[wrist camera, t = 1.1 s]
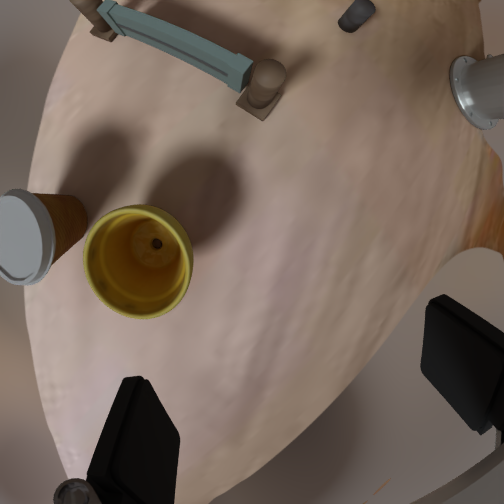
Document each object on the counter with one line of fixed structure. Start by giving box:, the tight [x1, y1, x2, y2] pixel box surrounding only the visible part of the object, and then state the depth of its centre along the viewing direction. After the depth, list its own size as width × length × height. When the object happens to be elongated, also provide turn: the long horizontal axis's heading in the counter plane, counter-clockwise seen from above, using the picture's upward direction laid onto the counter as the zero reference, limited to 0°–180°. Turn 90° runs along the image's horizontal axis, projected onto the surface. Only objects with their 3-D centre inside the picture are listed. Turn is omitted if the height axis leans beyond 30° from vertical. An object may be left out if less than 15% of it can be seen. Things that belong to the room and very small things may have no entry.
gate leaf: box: [97, 0, 253, 93], centre depth 23 cm, size 18×2×7 cm, turn 57°
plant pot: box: [83, 204, 193, 319], centre depth 29 cm, size 10×10×10 cm
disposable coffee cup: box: [0, 189, 87, 285], centre depth 26 cm, size 10×10×12 cm
